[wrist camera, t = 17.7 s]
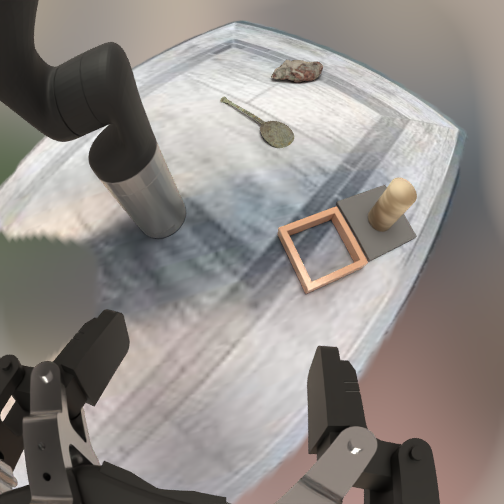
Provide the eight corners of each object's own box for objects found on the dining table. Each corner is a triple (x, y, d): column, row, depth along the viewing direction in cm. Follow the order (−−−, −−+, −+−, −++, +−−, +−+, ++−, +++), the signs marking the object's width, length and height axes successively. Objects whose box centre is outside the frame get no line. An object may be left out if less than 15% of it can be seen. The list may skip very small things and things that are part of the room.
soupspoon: (278, 156, 53) (299, 143, 54) (279, 145, 50) (302, 132, 51) (212, 107, 58) (233, 96, 60) (211, 96, 55) (233, 86, 57)
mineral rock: (272, 84, 61) (272, 71, 57) (269, 70, 64) (269, 58, 60) (326, 86, 61) (328, 74, 57) (319, 72, 64) (321, 60, 60)
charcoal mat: (336, 203, 47) (337, 201, 47) (383, 187, 49) (385, 184, 48) (368, 261, 43) (369, 260, 43) (414, 238, 45) (416, 236, 44)
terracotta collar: (277, 234, 45) (278, 227, 43) (333, 213, 47) (336, 206, 44) (305, 294, 42) (308, 290, 39) (362, 267, 43) (368, 262, 41)
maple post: (363, 213, 46) (385, 182, 36) (381, 204, 46) (404, 174, 37) (377, 235, 44) (403, 208, 35) (395, 226, 45) (421, 198, 35)
